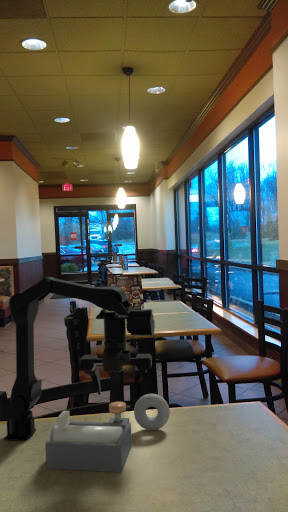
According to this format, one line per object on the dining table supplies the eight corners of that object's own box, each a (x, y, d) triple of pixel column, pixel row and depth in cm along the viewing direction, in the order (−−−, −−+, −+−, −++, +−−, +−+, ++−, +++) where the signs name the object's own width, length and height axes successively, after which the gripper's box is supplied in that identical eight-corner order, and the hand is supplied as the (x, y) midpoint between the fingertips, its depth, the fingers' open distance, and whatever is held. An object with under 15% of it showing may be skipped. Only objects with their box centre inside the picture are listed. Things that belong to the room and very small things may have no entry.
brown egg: (108, 428, 107) (107, 407, 107) (112, 421, 111) (111, 401, 111) (124, 429, 106) (124, 408, 106) (128, 422, 111) (127, 401, 110)
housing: (46, 468, 96) (45, 442, 96) (70, 434, 113) (70, 412, 113) (122, 472, 93) (121, 445, 93) (135, 436, 111) (134, 414, 111)
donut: (170, 427, 116) (169, 391, 116) (170, 432, 112) (169, 396, 112) (135, 427, 117) (133, 392, 116) (133, 432, 113) (132, 396, 113)
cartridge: (50, 456, 99) (48, 419, 99) (59, 444, 105) (58, 408, 105) (118, 459, 96) (116, 420, 96) (123, 446, 103) (122, 410, 102)
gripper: (73, 343, 101) (75, 406, 101) (149, 341, 100) (151, 405, 100) (82, 333, 112) (84, 390, 112) (151, 332, 111) (152, 389, 111)
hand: (117, 394), depth 109 cm, fingers open, 9 cm apart
